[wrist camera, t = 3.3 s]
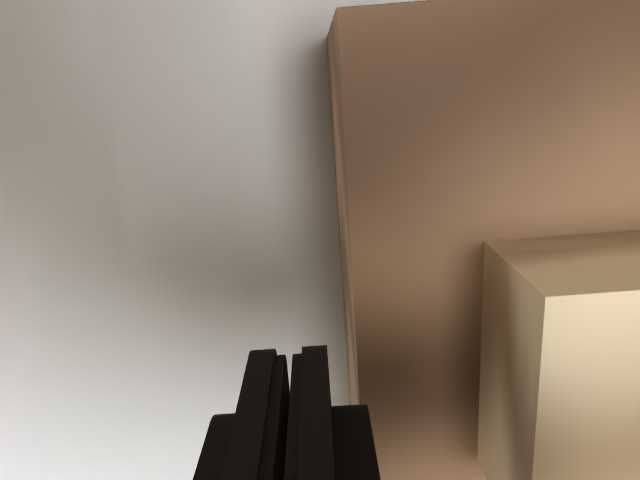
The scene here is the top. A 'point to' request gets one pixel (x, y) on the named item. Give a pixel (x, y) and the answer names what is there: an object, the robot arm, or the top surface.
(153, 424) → the top surface
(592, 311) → the birch tile
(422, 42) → the walnut riser
